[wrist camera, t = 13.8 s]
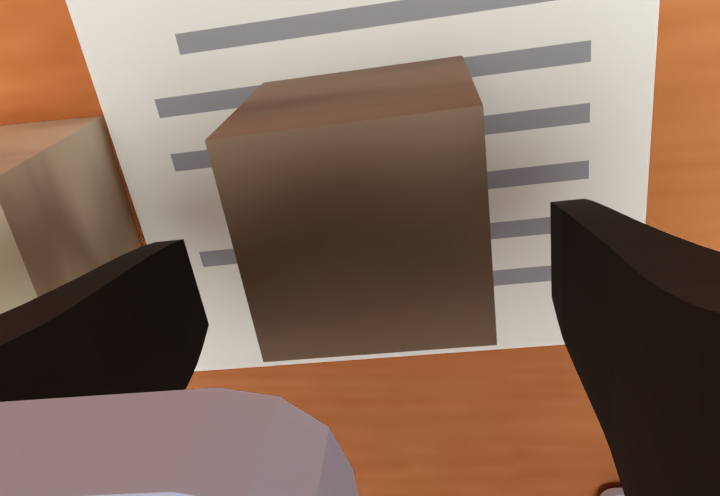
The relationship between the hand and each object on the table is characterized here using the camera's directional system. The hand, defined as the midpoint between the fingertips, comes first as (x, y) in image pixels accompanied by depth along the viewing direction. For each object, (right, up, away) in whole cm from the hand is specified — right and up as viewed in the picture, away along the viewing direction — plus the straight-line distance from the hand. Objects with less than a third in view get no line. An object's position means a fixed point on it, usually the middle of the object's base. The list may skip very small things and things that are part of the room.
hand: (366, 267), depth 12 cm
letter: (0, +2, +5) cm, 5 cm away
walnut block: (0, +3, +4) cm, 5 cm away
